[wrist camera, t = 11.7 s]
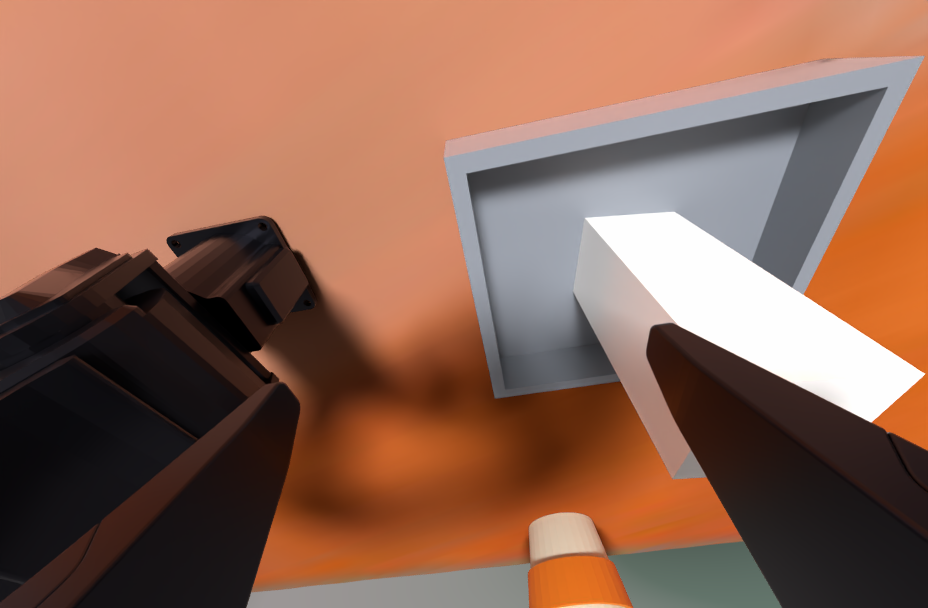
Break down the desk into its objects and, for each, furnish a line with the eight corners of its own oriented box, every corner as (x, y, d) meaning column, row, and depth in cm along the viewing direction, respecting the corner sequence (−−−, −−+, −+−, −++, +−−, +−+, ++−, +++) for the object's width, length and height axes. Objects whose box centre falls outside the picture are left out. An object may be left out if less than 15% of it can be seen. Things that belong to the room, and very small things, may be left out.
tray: (489, 357, 26) (495, 398, 23) (445, 140, 17) (443, 157, 14) (727, 321, 24) (769, 360, 21) (823, 59, 15) (924, 55, 12)
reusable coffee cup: (586, 497, 41) (642, 679, 29) (618, 529, 47) (675, 690, 35) (499, 522, 45) (516, 692, 32) (539, 549, 51) (565, 700, 39)
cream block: (573, 291, 21) (672, 478, 12) (584, 217, 18) (731, 385, 9) (650, 286, 21) (816, 471, 11) (674, 211, 18) (924, 374, 9)
